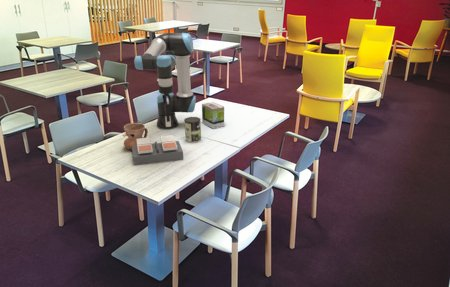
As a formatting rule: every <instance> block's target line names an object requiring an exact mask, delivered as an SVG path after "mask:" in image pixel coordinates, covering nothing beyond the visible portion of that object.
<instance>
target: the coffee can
mask: <svg viewBox="0 0 450 287" xmlns="http://www.w3.org/2000/svg"><path fill="white" fill-rule="evenodd" d="M183 120H184V131H185V132H184V133H185V134H184V135H185V139H184V140H185V142H187V143H192V144H195V143H199V142H201V141H202V132H201V130H202V129H201V121H202V119H201V118H200V117H198V116H189V117H185V118H184V119H183Z"/></svg>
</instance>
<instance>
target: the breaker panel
mask: <svg viewBox="0 0 450 287" xmlns="http://www.w3.org/2000/svg"><path fill="white" fill-rule="evenodd" d="M175 141H176V145H177V150H168V151H163V147H162V144H161V142H157V141H154V143H152V150H153V152H151V153H142V154H138V148H137V145H136V146H132V150H131V151H132V159H133V160H132V161H133V166H138V165H139V166H140V165H148V164H157V163H164V162H166V163H167V162H172V161H180V160H184V152H183V150H184V149H183V148H182V146H181V143H180V141H179V140H175Z"/></svg>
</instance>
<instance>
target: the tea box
mask: <svg viewBox="0 0 450 287" xmlns="http://www.w3.org/2000/svg"><path fill="white" fill-rule="evenodd" d="M201 116H202V117H201V118H202V119H201V121H202V122H201V123H202V124H204V125H205V126H207V127H210V128H211V129H213V130H214V129H218V128H222V127H225V106H223V105H221V104H219V103H216V102H214V101H211V102H205V103H202V104H201Z"/></svg>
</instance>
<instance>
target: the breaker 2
mask: <svg viewBox="0 0 450 287" xmlns="http://www.w3.org/2000/svg"><path fill="white" fill-rule="evenodd" d="M176 141H177V140H176V139H175V135H174V134H171V135H168V134H167V135H160V143H161V144H162V147H163V151H168V150H177V145H176Z"/></svg>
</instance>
